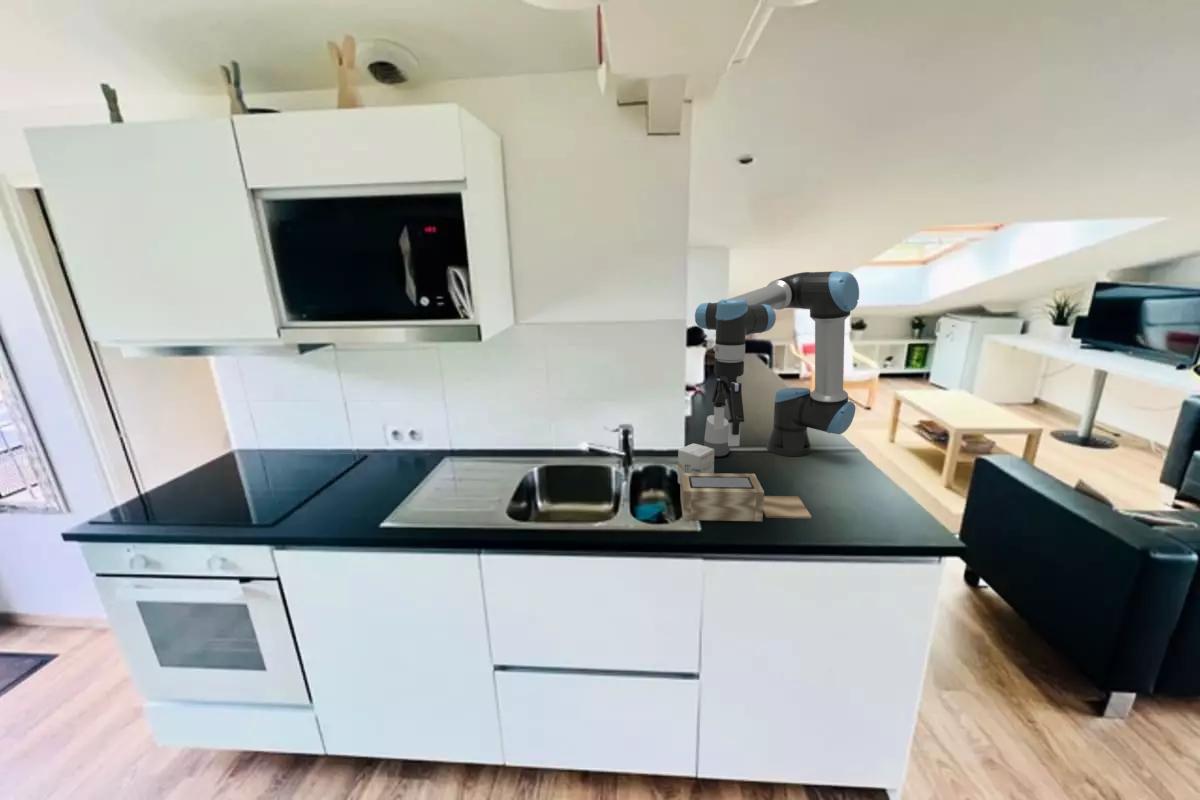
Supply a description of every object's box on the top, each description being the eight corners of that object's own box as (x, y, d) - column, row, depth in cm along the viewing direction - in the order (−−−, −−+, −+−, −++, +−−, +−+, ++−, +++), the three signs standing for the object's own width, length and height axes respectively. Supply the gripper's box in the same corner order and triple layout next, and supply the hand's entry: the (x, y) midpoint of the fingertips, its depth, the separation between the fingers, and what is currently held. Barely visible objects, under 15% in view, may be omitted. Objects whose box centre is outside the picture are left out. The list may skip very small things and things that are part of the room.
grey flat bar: (747, 485, 138) (747, 478, 138) (751, 495, 133) (751, 487, 132) (690, 485, 140) (690, 477, 139) (692, 494, 134) (692, 486, 134)
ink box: (692, 474, 162) (693, 442, 158) (714, 482, 156) (715, 448, 153) (676, 483, 156) (677, 449, 153) (698, 491, 150) (699, 455, 147)
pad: (756, 497, 144) (756, 495, 144) (798, 498, 143) (798, 496, 143) (765, 517, 133) (766, 515, 133) (811, 518, 132) (811, 516, 132)
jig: (753, 500, 143) (754, 473, 140) (762, 521, 131) (764, 492, 129) (680, 499, 145) (680, 473, 143) (683, 519, 133) (683, 491, 131)
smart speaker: (718, 460, 172) (719, 423, 169) (698, 453, 179) (699, 417, 176) (734, 454, 178) (736, 417, 174) (714, 447, 185) (715, 412, 181)
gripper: (702, 352, 138) (700, 423, 143) (729, 369, 114) (725, 454, 119) (728, 351, 138) (725, 422, 144) (761, 368, 114) (755, 453, 120)
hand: (725, 437), depth 132 cm, fingers open, 13 cm apart
